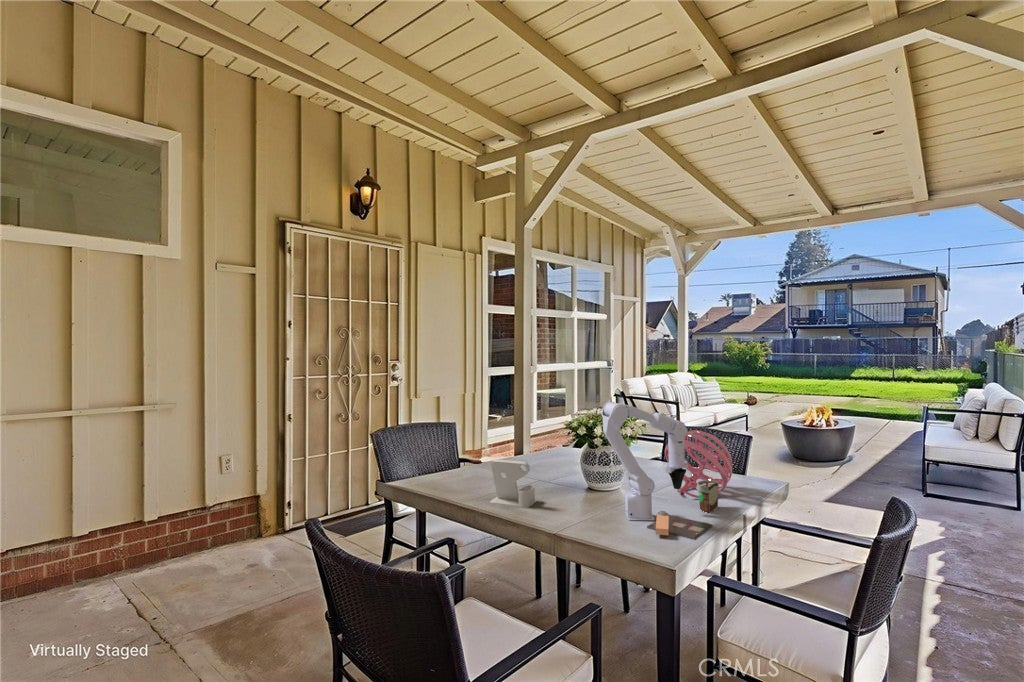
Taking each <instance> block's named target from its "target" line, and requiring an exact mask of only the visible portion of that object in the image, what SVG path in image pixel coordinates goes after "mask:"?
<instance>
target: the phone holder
mask: <svg viewBox="0 0 1024 682" xmlns="http://www.w3.org/2000/svg"><path fill="white" fill-rule="evenodd" d="M490 465H491V471H492V476H493V477H492V478H493V482H494V486H495V491H496V497H495V498H493V499H491V500H489V503H491V505H496V504H500V505H499V506H504V505H507V506H506V507H513V506H514V508H515V507H516V508H524V509H528V508H530V507H531V506H532V505H533V504H534V505H535V503H537V500H536V495H535V494H536V491H535V490H536V489H535V488H536V487H535V486H534V485H524V486H522V487H521V488H520V489H519V487H518V483H517V481H519V480H520V479H522V478H524V477H525V476H526V475H528V474H529V472H530V470H531V468H530V465H529V463H528V462H526V461H521V460H520V461H519V460H508V459H493V460H492V462H491V464H490ZM521 466H523V467H525V469H523V468H522V467H521ZM502 473H503V474H505V475H506V477H504V478H503V476H502V475H501V474H502Z"/></svg>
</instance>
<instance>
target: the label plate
mask: <svg viewBox="0 0 1024 682" xmlns="http://www.w3.org/2000/svg"><path fill="white" fill-rule="evenodd" d="M668 515H669V535H673V534H674V536H677V535H678V537H681V536H682V537H683V538H685V537H686V538H685V539H689V538H691V539H690V540H693V539H694V540H695V539H696V538H698V537H700V536H701V535H702V534H704V533H705V532H706V531H708V530H710V529H711V528H712V527H713V524H711V523H708V522H702V521H699V520H694V519H690V518H684V517H680V516H675V515H671V514H668ZM710 527H711V528H710ZM646 529H649V530H654V531H656V521H654V522H651V523H650V524H649V525H647V526H646ZM703 532H704V533H703Z"/></svg>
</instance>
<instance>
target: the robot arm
mask: <svg viewBox="0 0 1024 682" xmlns="http://www.w3.org/2000/svg"><path fill="white" fill-rule="evenodd" d="M600 414H601V417H602V431H603V434H604V436H605V438H606V439H607V440H608V442H609V444H610V445H611V448H612V449H613V451H614V452H615V455H616V456H617V458H618V460H619V461H620V462H621V465H622V466H623V468H624V470H625V471H626V473H625V475H626V476H627V482H628V485H629V487H630V488H631V492H626V493H625V496H624V500H625V504H624V505H625V507H624V508H625V509H624V510H625V511H624V512H625V516H626V518H627V520H628V521H656V518H655V517H654V515H653V506H652V505H653V503H652V502H653V501H652V500H653V499H652V498H653V497H652V496H653V495H652V493H653V492H654V490H655V487H656V486H655V481H654V480H653V479H652V478H650V477H649V476H648V475H647V473H646V472H645V471H644V470H643V469H642V468H641V466H640V465H639V463H638V461H637V460H636V458H635V456H634V455H633V453H632V451H631V450H630V448H629V446H628V444H627V443H626V441H625V439H624V437H623V435H622V433H621V432H620V431H621V427H622V426H623V425H624V423H625V422H626V420H627V419H631V418H636V419H638V420H639V419H640V420H642V421H645V422H647V423H649V425H650V427H651V428H654V429H656V430H658V431H660V432H663V433H667V435H668V437H667V438H668V441H667V444H668V452H669V463H668V462H667V466H666V467H665V473H667V474H668V475H669V476H670V479H671V483H672V486H673V489H674V490H677V489H679V490H680V489H681V488H682V485H683V482H684V480H683V477H684V475H685V476H686V473H687V469H686V468H687V467H688V463H689V462H688V460H686V458H685V450H686V449H685V447H684V439H685V435H686V433H687V432H688V428H687V425H686V423H684V422H683V421H681V420H676V419H675V418H674V417H673V416H667V415H664V414H665V413H663V412H660V411H659V412H655V413H649V412H647V411H645V410H642V409H640V408H639V407H635V406H632V405H630V404H629V405H628V404H622V403H620V402H617V403H616V402H614V401H608V402H606V403H605V404H604V405H603V407H602V410H601V413H600ZM685 460H686V461H685Z"/></svg>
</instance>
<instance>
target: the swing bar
mask: <svg viewBox="0 0 1024 682" xmlns="http://www.w3.org/2000/svg"><path fill="white" fill-rule="evenodd" d="M669 515H670V514H669V513H668V512H666V511H664V510H660V511H658V512H657V514H656V518H655V522H656V530H655V535H660V536H669V535H670V534H669Z"/></svg>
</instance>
